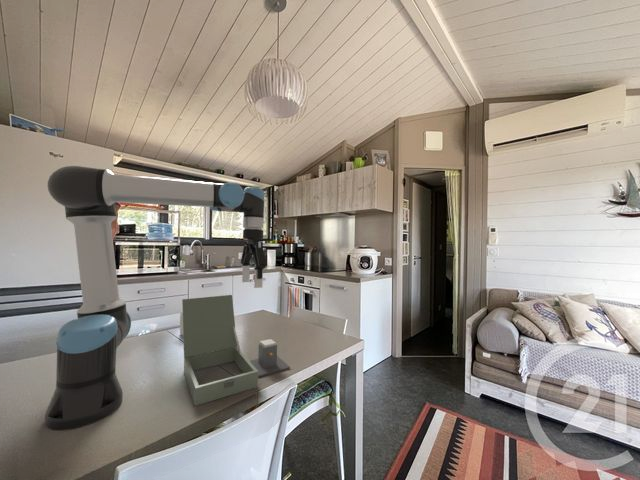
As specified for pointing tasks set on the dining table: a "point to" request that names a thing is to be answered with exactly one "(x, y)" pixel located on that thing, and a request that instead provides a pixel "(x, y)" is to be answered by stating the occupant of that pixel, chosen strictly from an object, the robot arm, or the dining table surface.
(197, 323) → the case
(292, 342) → the dining table surface
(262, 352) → the block
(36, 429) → the dining table surface
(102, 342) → the robot arm
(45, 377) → the dining table surface
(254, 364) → the mat
